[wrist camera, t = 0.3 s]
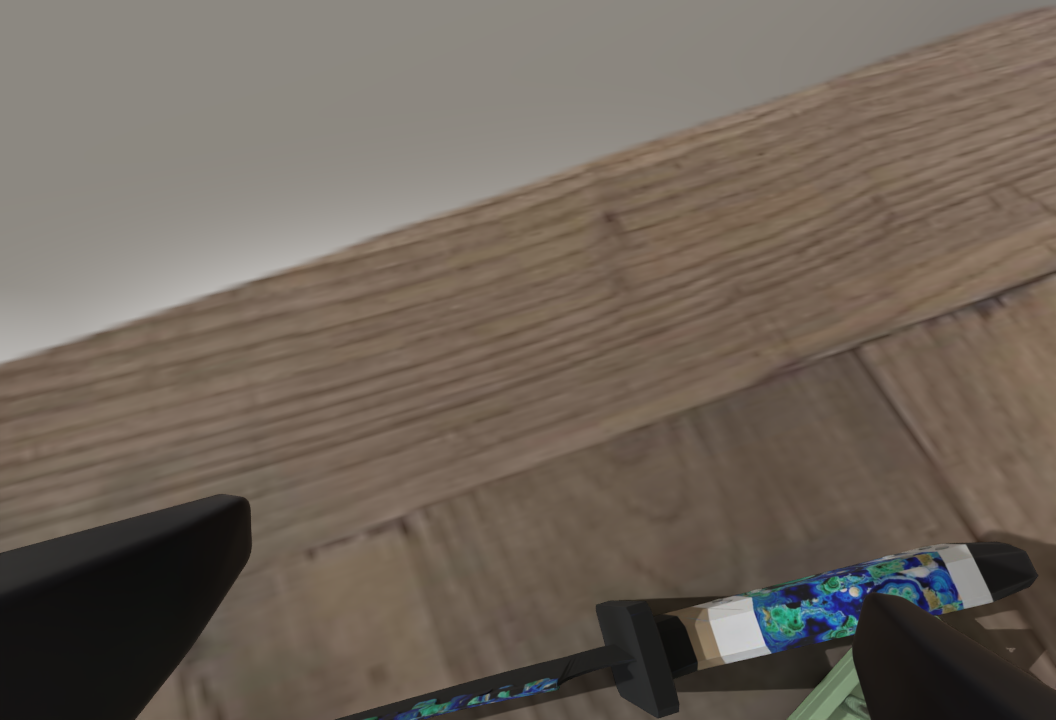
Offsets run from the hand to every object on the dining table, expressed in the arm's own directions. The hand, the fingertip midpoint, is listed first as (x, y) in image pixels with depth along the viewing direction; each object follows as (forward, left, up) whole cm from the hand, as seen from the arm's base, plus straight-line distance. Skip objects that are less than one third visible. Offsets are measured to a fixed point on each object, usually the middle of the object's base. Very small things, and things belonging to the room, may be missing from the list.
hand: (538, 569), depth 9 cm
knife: (-3, +2, -15) cm, 15 cm away
